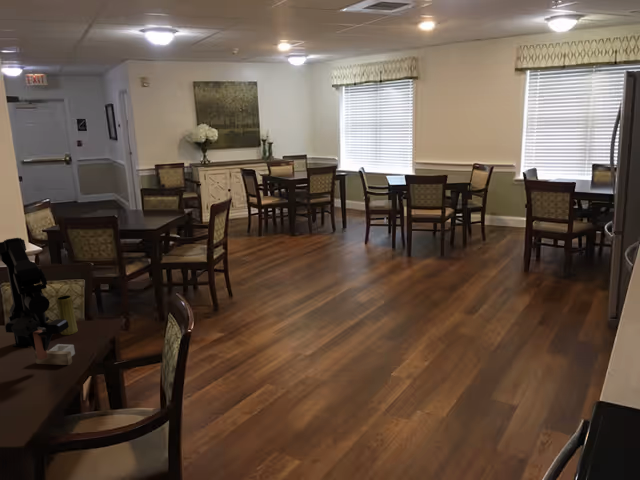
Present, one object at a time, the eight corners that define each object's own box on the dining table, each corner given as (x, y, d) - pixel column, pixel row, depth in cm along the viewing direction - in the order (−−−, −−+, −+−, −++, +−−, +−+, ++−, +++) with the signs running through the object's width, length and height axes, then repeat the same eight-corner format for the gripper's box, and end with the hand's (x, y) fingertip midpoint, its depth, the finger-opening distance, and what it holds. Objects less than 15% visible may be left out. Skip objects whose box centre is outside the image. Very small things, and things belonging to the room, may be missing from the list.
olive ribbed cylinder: (81, 328, 202) (75, 294, 199) (72, 335, 196) (66, 300, 193) (66, 328, 203) (61, 294, 199) (57, 335, 197) (51, 300, 193)
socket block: (48, 361, 176) (46, 351, 175) (59, 353, 181) (57, 344, 180) (64, 361, 175) (62, 352, 174) (75, 353, 180) (73, 344, 180)
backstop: (36, 363, 174) (34, 352, 173) (40, 360, 176) (38, 350, 175) (68, 365, 172) (66, 354, 171) (72, 362, 174) (70, 351, 173)
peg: (35, 359, 167) (30, 333, 165) (41, 355, 170) (36, 329, 168) (43, 359, 166) (39, 334, 164) (49, 355, 169) (45, 330, 167)
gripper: (-13, 314, 157) (-3, 360, 161) (43, 315, 155) (51, 363, 158) (14, 301, 168) (22, 345, 172) (66, 302, 165) (73, 347, 169)
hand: (41, 350), depth 167 cm, fingers closed on peg, 3 cm apart
